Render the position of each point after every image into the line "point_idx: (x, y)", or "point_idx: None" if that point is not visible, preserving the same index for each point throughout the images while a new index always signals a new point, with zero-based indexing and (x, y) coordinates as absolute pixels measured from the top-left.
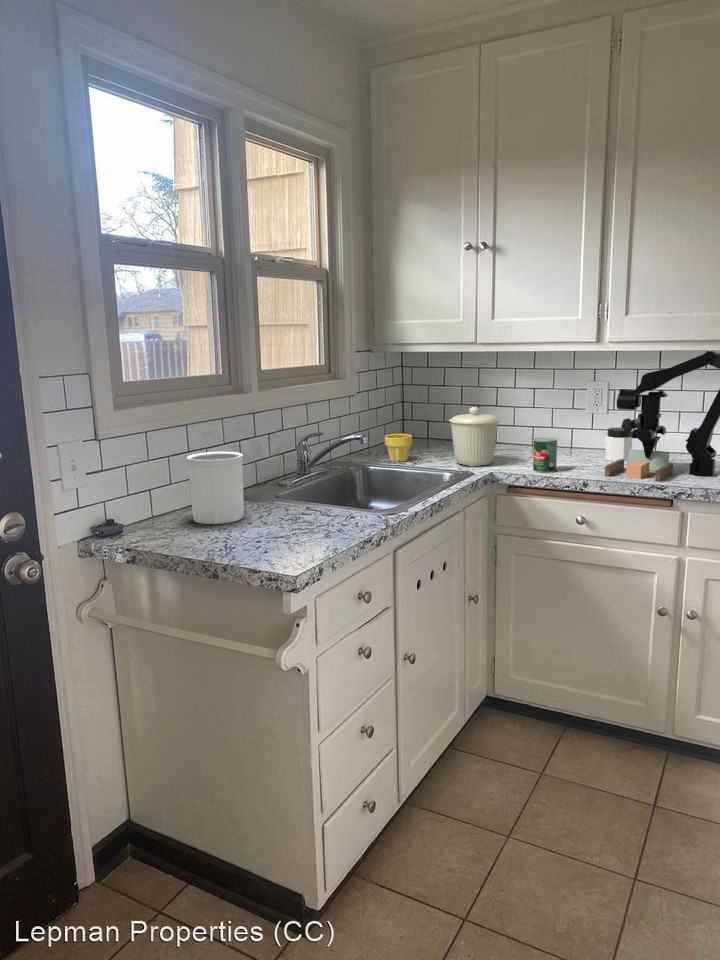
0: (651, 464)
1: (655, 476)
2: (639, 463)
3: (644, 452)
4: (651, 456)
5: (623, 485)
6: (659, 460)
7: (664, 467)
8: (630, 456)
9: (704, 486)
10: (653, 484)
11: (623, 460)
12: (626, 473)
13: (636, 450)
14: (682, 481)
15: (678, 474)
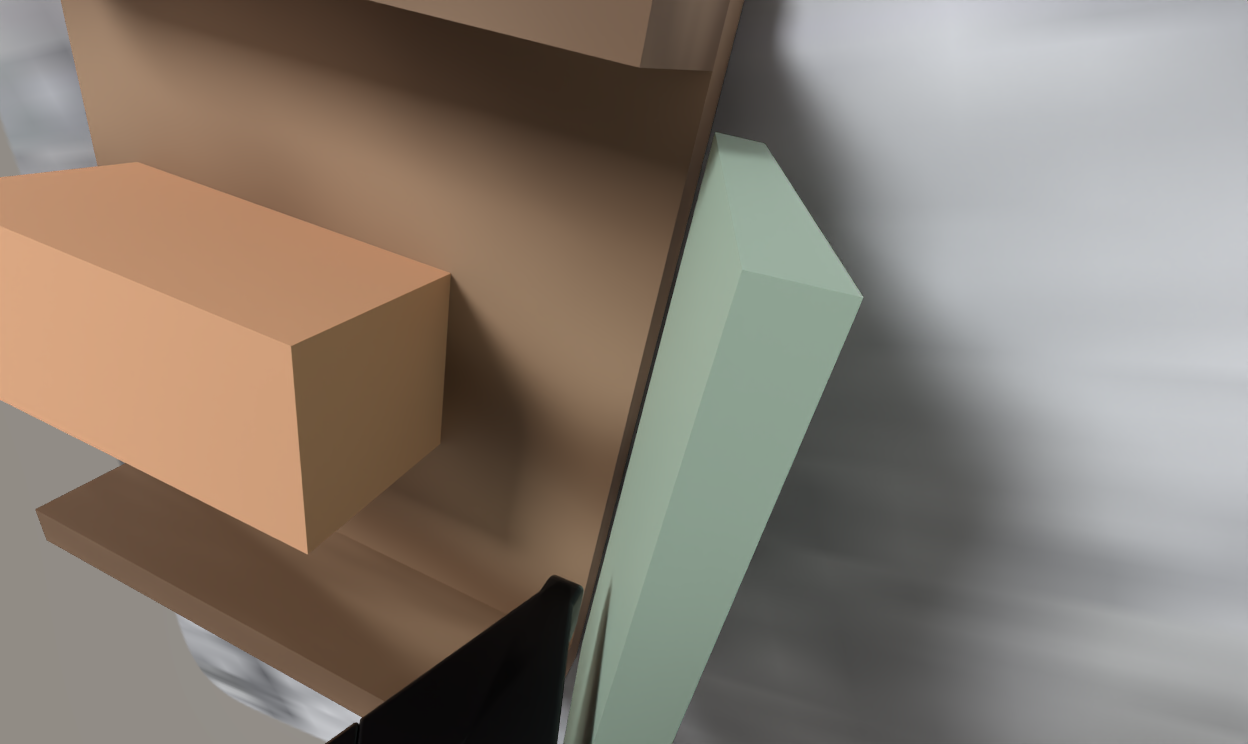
0: (607, 571)
1: (105, 473)
2: (113, 392)
3: (468, 642)
4: (589, 689)
5: (16, 151)
6: (574, 719)
7: (220, 628)
8: (701, 259)
9: (331, 719)
10: None
11: (585, 52)
12: (75, 178)
13: (654, 519)
14: None
15: (740, 735)
